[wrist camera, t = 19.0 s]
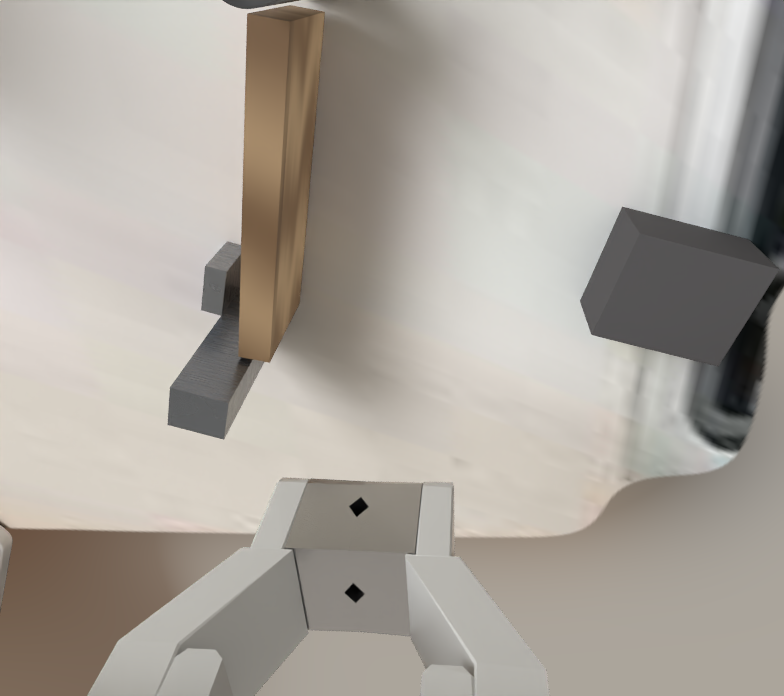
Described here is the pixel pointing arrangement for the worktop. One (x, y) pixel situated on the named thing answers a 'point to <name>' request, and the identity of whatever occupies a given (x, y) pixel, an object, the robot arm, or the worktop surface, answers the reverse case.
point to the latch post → (215, 357)
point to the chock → (674, 287)
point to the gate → (276, 170)
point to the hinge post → (255, 3)
